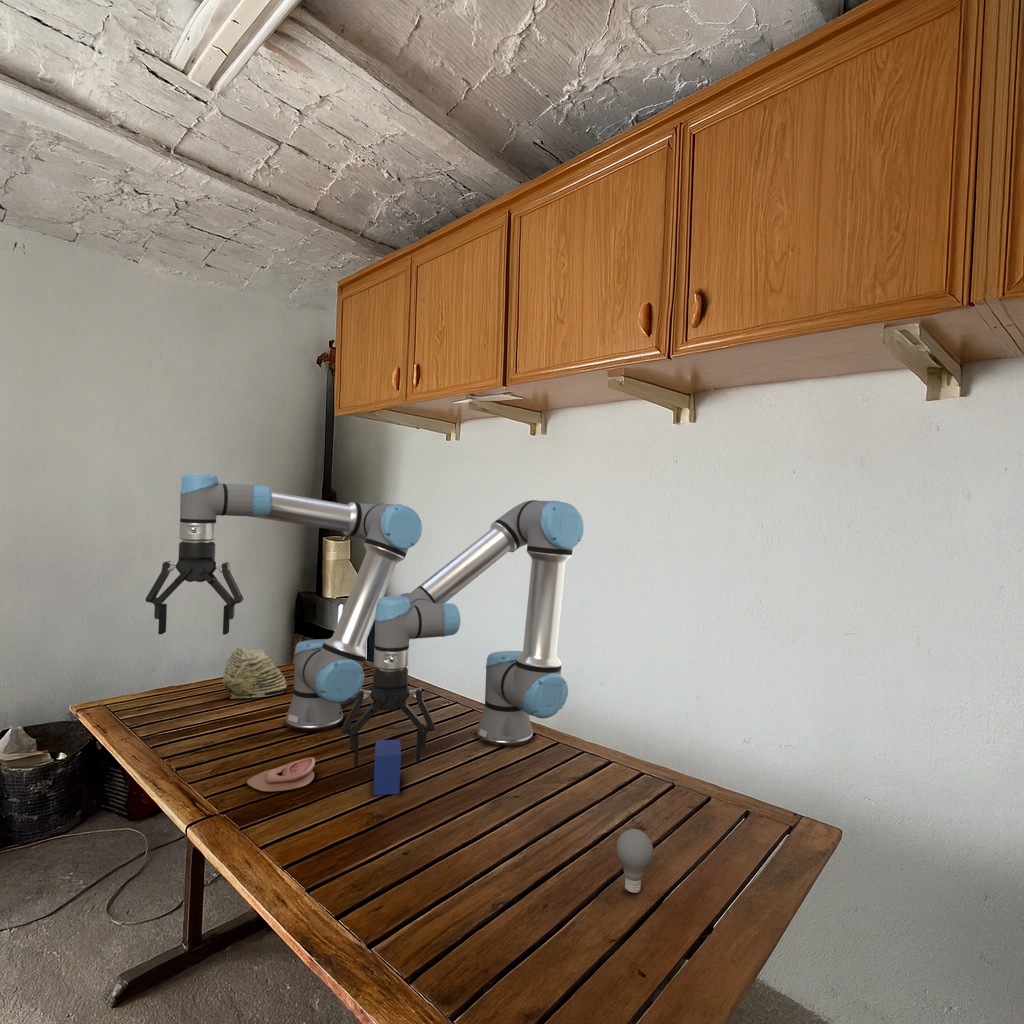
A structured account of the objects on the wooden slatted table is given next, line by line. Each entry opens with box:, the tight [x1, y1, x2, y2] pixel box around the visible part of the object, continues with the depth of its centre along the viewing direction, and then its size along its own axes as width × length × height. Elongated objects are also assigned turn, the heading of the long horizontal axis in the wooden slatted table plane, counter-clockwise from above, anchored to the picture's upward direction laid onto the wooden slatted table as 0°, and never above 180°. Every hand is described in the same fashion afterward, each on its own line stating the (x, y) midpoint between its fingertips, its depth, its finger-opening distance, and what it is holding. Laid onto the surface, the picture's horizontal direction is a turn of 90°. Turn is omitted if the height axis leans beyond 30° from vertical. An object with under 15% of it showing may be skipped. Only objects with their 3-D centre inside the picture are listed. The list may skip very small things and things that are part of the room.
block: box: [373, 739, 402, 796], centre depth 140 cm, size 8×6×9 cm, turn 11°
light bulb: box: [615, 828, 654, 894], centre depth 106 cm, size 6×6×10 cm
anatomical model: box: [246, 757, 316, 792], centre depth 140 cm, size 13×4×12 cm
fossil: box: [222, 646, 288, 699], centre depth 198 cm, size 9×18×15 cm, turn 132°
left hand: (194, 633), depth 146 cm, fingers open, 13 cm apart
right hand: (387, 762), depth 140 cm, fingers open, 13 cm apart
